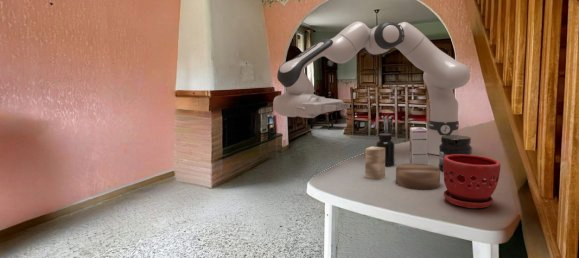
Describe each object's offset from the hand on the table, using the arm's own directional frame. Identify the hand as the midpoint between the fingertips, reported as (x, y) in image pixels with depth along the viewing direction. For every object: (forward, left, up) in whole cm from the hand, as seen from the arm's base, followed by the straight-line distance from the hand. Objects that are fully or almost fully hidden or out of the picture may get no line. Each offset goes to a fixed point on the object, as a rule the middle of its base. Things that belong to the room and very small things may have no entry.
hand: (342, 107), depth 120 cm
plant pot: (+24, +36, -24) cm, 50 cm away
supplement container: (-10, +38, -24) cm, 46 cm away
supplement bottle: (-14, +14, -24) cm, 31 cm away
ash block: (+4, +11, -24) cm, 27 cm away
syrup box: (-14, +26, -24) cm, 38 cm away
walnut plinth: (+9, +25, -24) cm, 35 cm away
